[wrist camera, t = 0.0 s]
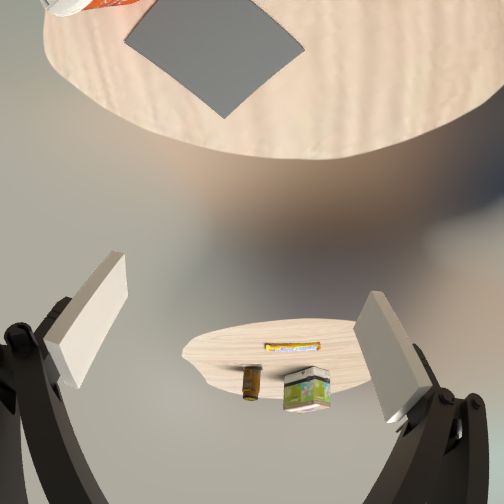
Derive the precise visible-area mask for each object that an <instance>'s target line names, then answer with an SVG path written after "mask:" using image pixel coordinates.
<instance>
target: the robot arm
mask: <svg viewBox="0 0 504 504" xmlns="http://www.w3.org/2000/svg"><path fill="white" fill-rule="evenodd" d="M125 269H126V268H125V254H124V253H119V252H113V251H112V252H111V253H110V254H109V255H108V256H107V257H106V258H105V260H104V261H103V262H102V263H101V264H100V265H99V267H98V268H97V269H96V270H95V271H94V272H93V274H92V275H91V276H90V277H89V279H88V280H87V281H86V282H85V283H84V285H83V286H82V287H81V288H80V290H79V291H78V292H77V294H76V295H75V296H74V297H73V298H69V297H65V298H63V299H62V300H60V301H59V302H57V303H56V305H55V306H54V307H53V308H52V310H51V311H50V312H49V314H48V315H47V317H46V318H45V319H44V320H43V321H42V323H41V324H40V325H39V327H38V328H37V329H36V331H35V332H34V333H33V332H32V329H31V327H30V326H29V325H28V324H26V323H23V322H21V323H15V324H13V325H11V326H10V327H9V328H8V329H7V330H6V332H5V334H4V339H5V341H6V343H7V345H1V344H0V504H28V499H27V494H26V488H25V481H24V474H23V464H22V453H21V433H20V416H21V420H22V424H23V429H24V433H25V437H26V440H27V444H28V447H29V451H30V454H31V457H32V460H33V463H34V466H35V469H36V472H37V475H38V477H39V480H40V483H41V485H42V488H43V490H44V493H45V495H46V497H47V499H48V502H49V504H109V503H108V502H107V500H106V498H105V497H104V495H103V493H102V491H101V489H100V488H99V486H98V484H97V482H96V480H95V478H94V476H93V474H92V472H91V470H90V468H89V466H88V464H87V462H86V460H85V457H84V455H83V453H82V451H81V448H80V446H79V444H78V441H77V438H76V436H75V434H74V431H73V428H72V425H71V423H70V420H69V417H68V414H67V411H66V408H65V405H64V402H63V399H62V396H61V392H60V389H59V386H58V384H57V381H58V379H59V376H61V378H62V380H63V382H64V384H66V385H69V386H72V387H74V388H77V389H79V388H80V386H81V384H82V382H83V380H84V378H85V376H86V373H87V371H88V369H89V367H90V365H91V363H92V361H93V359H94V357H95V355H96V354H97V351H98V350H99V348H100V346H101V344H102V342H103V340H104V338H105V336H106V335H107V333H108V331H109V329H110V327H111V325H112V324H113V321H114V320H115V318H116V316H117V315H118V313H119V311H120V309H121V308H122V306H123V304H124V302H125V300H126V299H127V297H128V293H127V282H126V270H125ZM353 329H354V331H355V334H356V337H357V339H358V342H359V345H360V347H361V350H362V353H363V356H364V358H365V361H366V364H367V367H368V369H369V372H370V375H371V378H372V381H373V384H374V387H375V390H376V393H377V396H378V399H379V402H380V405H381V408H382V411H383V415H384V418H385V421H386V423H389V422H396V421H400V420H401V419H402V418H403V417H404V416H405V415H407V417H408V420H407V421H406V422H405V423H404V424H403V425H402V426H400V427H399V428H398V429H397V431H396V432H399V431H400V430H401V429H402V430H401V433H400V435H399V437H398V439H397V442H396V444H395V446H394V448H393V450H392V452H391V454H390V456H389V458H388V460H387V462H386V464H385V466H384V468H383V470H382V472H381V473H380V475H379V477H378V479H377V481H376V482H375V484H374V486H373V488H372V489H371V491H370V493H369V494H368V496H367V498H366V499H365V501H364V503H363V504H487V500H488V486H489V445H488V444H489V443H488V429H487V419H486V409H485V404H484V401H483V399H482V398H481V397H480V396H479V395H477V394H475V393H471V394H469V395H468V396H467V397H466V398H465V399H458V398H455V397H454V395H453V393H452V392H451V391H450V390H448V389H446V388H441V387H440V385H439V383H438V381H437V379H436V377H435V375H434V373H433V372H432V369H431V367H430V366H429V364H428V362H427V360H426V358H425V356H424V354H423V353H422V351H421V349H420V348H419V347H418V346H417V345H416V344H412V343H411V341H410V340H409V338H408V336H407V334H406V332H405V330H404V329H403V327H402V325H401V323H400V321H399V320H398V318H397V316H396V314H395V313H394V311H393V309H392V307H391V306H390V304H389V302H388V301H387V299H386V297H385V296H384V294H383V292H376V291H371V292H370V294H369V297H368V299H367V301H366V303H365V305H364V307H363V309H362V311H361V314H360V316H359V318H358V320H357V322H356V324H355V326H354V328H353ZM461 432H462V437H461V438H460V439H459V434H460V433H461ZM426 502H427V503H426Z"/></svg>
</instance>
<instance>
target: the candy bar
mask: <svg viewBox="0 0 504 504" xmlns="http://www.w3.org/2000/svg"><path fill="white" fill-rule="evenodd" d="M319 345H320V343H289V344H270V345H266V351H267V350H270V351H302V350H315V349H317V351H318V350H319V349H320V348H321V346H319Z"/></svg>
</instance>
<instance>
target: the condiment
mask: <svg viewBox="0 0 504 504" xmlns="http://www.w3.org/2000/svg"><path fill="white" fill-rule="evenodd" d="M241 366H242V368H243V370H244V376H243V389H242V391H243V399H245V400H248V401H255V400H257V399H258V393H259V390H260V373H263V369H262V365H250V364H249V365H246V364H244V365H241ZM247 366H248V367H247Z"/></svg>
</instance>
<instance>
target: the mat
mask: <svg viewBox="0 0 504 504" xmlns="http://www.w3.org/2000/svg"><path fill="white" fill-rule="evenodd" d="M124 43H125V44H127V45H128V46H130V47H131V48H133V49H134V50H136V51H137V52H138V53H140V54H141V55H143V56H144V57H146V58H147V59H148V60H150V61H151V62H153V63H154V64H155V65H157V66H158V67H159V68H161V69H162V70H163V71H165V72H166V73H167V74H169V75H170V76H171V77H173V78H174V79H175V80H177V81H178V82H179V83H181V84H182V85H183V86H184V87H186V88H187V89H188V90H189V91H191V92H192V93H193V94H195V95H196V96H197V97H198V98H199V99H201V100H202V101H203V102H204V103H206V104H207V105H208V106H209V107H210V108H212V109H213V110H214V111H215V112H216V113H218V114H219V115H220V116H221V117H222V118H224V119H225V118H226V117H227V116H228V115H229V114H230V113H231V112H232V111H234V110H235V109H236V108H237V107H238V106H239V105H240V104H241V103H242V102H243V101H244V100H245V99H247V98H248V97H249V96H250V95H251V94H252V93H253V92H254V91H256V90H257V89H258V88H259V87H260V86H261V85H263V84H264V83H265V82H266V81H267V80H268V79H270V78H271V77H272V76H273V75H274V74H276V73H277V72H278V71H279V70H280V69H282V68H283V67H284V66H285V65H287V64H288V63H289V62H291V61H292V60H293V59H294V58H296V57H297V56H298V55H300V54H301V53H302V52H304V51H305V50H304V49H303V48H302V47H301V46H300V45H299V44H298V43H297V42H296V41H295V40H294V39H293V38H292V37H291V36H290V35H289V34H288V33H287V32H286V31H285V30H284V29H283V28H282V27H280V26H279V25H278V24H277V23H276V22H275V21H274V20H273V19H271V18H270V17H269V16H268V15H267V14H266V13H265V12H263V11H262V10H261V9H260V8H259V7H257V6H256V5H255V4H254V3H252V2H251V1H250V0H158V1H157V3H156V4H155V5H154V6H153V7H152V8H151V9H150V11H149V12H148V13H147V14H146V15H145V17H144V18H143V19H142V20H141V21H140V23H139V24H138V25H137V26H136V28H135V29H134V30H133V32H132V33H131V34H130V36H129V37H128V38H127V40H126V41H125V42H124Z"/></svg>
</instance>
